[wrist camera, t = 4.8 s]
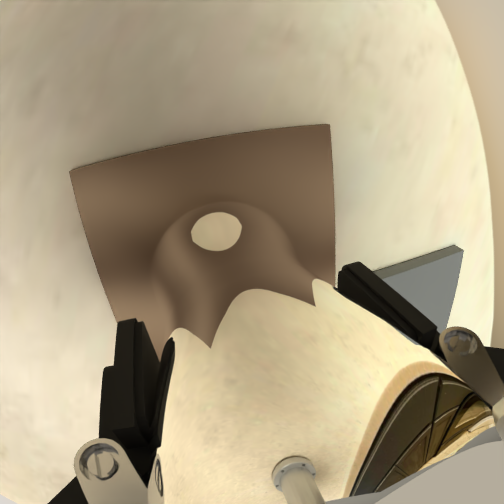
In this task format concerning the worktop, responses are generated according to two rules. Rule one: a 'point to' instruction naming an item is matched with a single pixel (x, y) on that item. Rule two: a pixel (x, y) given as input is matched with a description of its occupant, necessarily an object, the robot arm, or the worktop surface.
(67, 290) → the worktop surface
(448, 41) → the worktop surface
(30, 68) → the worktop surface
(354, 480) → the beer glass
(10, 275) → the worktop surface
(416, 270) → the rubber mat
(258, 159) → the dot tile
